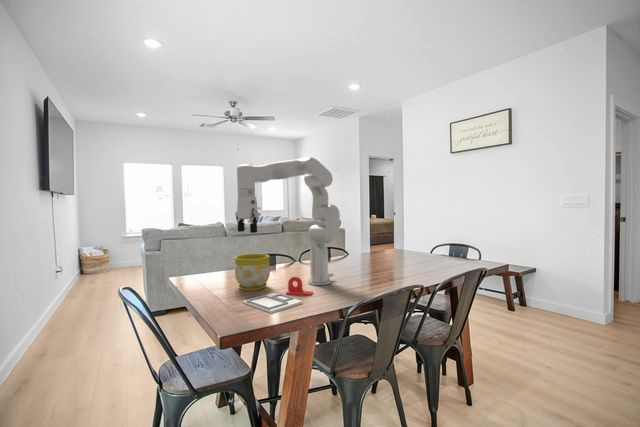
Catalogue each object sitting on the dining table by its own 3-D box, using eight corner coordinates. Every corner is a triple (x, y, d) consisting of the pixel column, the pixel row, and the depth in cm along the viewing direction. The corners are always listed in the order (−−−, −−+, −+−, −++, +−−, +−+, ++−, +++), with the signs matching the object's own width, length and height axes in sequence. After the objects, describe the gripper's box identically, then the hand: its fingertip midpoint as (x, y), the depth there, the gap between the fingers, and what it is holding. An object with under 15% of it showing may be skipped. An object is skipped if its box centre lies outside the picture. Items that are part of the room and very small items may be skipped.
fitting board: (274, 294, 159) (273, 291, 159) (302, 303, 145) (302, 299, 145) (243, 303, 147) (243, 299, 147) (271, 313, 133) (270, 309, 133)
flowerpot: (262, 281, 186) (261, 252, 185) (276, 288, 171) (275, 256, 170) (230, 286, 176) (229, 255, 175) (242, 294, 161) (241, 260, 160)
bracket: (286, 294, 159) (285, 278, 159) (289, 292, 164) (288, 276, 163) (310, 296, 157) (310, 279, 156) (312, 293, 161) (312, 277, 161)
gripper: (265, 192, 144) (265, 232, 145) (242, 193, 156) (243, 230, 157) (250, 192, 139) (251, 233, 139) (228, 193, 151) (229, 231, 151)
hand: (247, 232), depth 148 cm, fingers open, 9 cm apart
